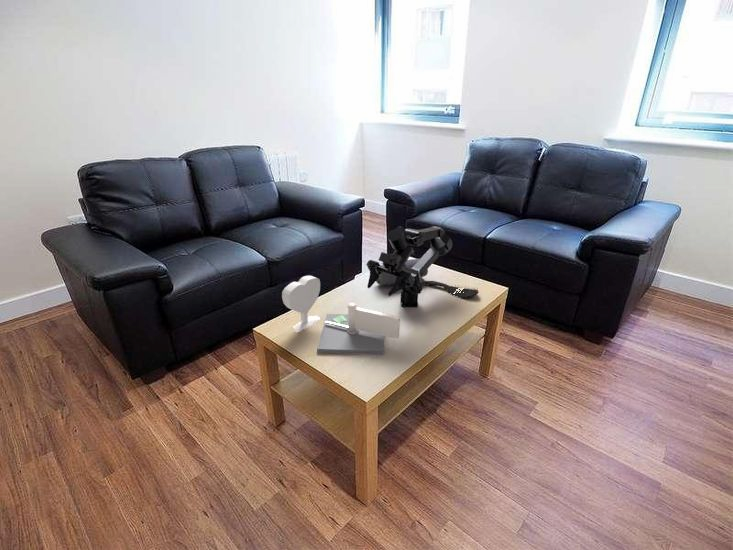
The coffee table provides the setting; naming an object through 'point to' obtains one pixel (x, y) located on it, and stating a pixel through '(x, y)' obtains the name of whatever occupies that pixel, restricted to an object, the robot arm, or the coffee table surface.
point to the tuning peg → (371, 321)
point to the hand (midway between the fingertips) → (378, 291)
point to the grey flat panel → (347, 338)
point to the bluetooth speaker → (389, 279)
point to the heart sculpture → (302, 299)
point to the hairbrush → (451, 289)
